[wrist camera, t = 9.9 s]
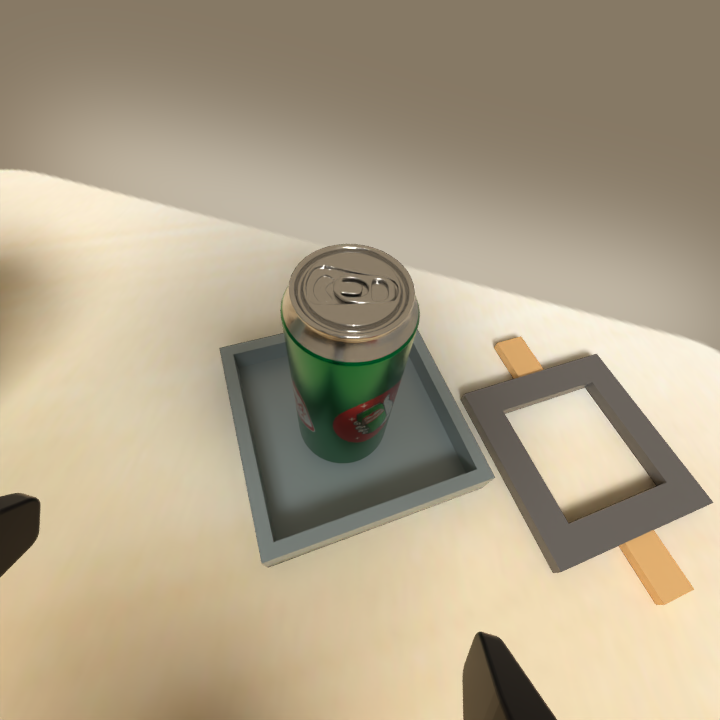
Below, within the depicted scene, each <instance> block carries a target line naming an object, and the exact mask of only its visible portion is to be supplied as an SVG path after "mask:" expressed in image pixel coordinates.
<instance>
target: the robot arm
mask: <svg viewBox="0 0 720 720" xmlns="http://www.w3.org/2000/svg"><path fill="white" fill-rule="evenodd" d="M39 525H40V501H39V499H37V498H36V497H32V496H29V495H26V494H22V493H14V494H10V495H5V496H1V497H0V577H1V576H2V575H3V574H4V573H5V572H6V571H7V570H8V569H9V568H10V567H11V566H12V565H13V564H14V563H15V562H16V561H17V560H18V559H19V558H20V557H21V556H22V555H23V554H24V553H25V552H26V551H27V550H28V549H29V548H30V547H31V546H32V545H33V543H34V542H35V541H36V539H37V537H38V534H39ZM463 720H557V719H556V717H555V716H554V715H553V713H552V712H551V710H550V709H549V707H548V706H547V704H546V703H545V701H544V700H543V699H542V697H541V696H540V694H539V693H538V691H537V690H536V688H535V687H534V686H533V684H532V683H531V681H530V680H529V678H528V677H527V675H526V674H525V673H524V671H523V670H522V668H521V667H520V665H519V664H518V662H517V661H516V660H515V658H514V657H513V655H512V654H511V652H510V651H509V649H508V648H507V646H506V645H505V644H504V642H503V641H502V640H501V639H500V638H499V637H497V636H494V635H490V634H487V633H484V632H478V633H477V634H476V635H475V637H474V640H473V642H472V645H471V648H470V651H469V653H468V656H467V659H466V662H465V665H464V669H463Z"/></svg>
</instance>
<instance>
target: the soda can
mask: <svg viewBox="0 0 720 720" xmlns="http://www.w3.org/2000/svg"><path fill="white" fill-rule="evenodd" d="M280 311H281V320H282V326H283V332H284V338H285V344H286V350H287V356H288V362H289V368H290V374H291V380H292V386H293V392H294V398H295V404H296V410H297V416H298V422H299V428H300V432H301V436H302V438H303V440H304V442H305V444H306V445H307V447H308V448H309V449H310V450H311V451H312V452H313V453H314V454H316V455H317V456H318V457H320V458H322V459H324V460H326V461H330V462H333V463H352V462H356V461H359V460H361V459H363V458H365V457H367V456H368V455H370V454H371V453H372V452H373V451H374V450H375V449H376V448H377V447H378V445H379V444H380V442H381V440H382V438H383V436H384V433H385V430H386V426H387V423H388V420H389V417H390V414H391V411H392V407H393V404H394V401H395V398H396V395H397V392H398V388H399V385H400V382H401V379H402V376H403V373H404V369H405V366H406V363H407V360H408V357H409V354H410V350H411V347H412V344H413V341H414V338H415V335H416V331H417V328H418V324H419V317H420V311H419V305H418V302H417V299H416V296H415V291H414V285H413V282H412V279H411V277H410V275H409V273H408V271H407V270H406V269H405V268H404V266H403V265H402V264H401V263H399V262H398V261H397V260H396V259H395V258H393V257H392V256H390V255H389V254H387V253H385V252H383V251H381V250H378V249H375V248H373V247H369V246H365V245H357V244H341V245H333V246H328V247H325V248H322V249H319V250H317V251H315V252H313V253H311V254H310V255H308V256H307V257H305V258H304V259H303V260H302V261H301V262H300V263H299V264H298V265H297V267H296V268H295V270H294V271H293V273H292V275H291V279H290V282H289V285H288V287H287V289H286V291H285V292H284V295H283V298H282V301H281V310H280Z"/></svg>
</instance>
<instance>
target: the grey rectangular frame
mask: <svg viewBox="0 0 720 720" xmlns="http://www.w3.org/2000/svg"><path fill="white" fill-rule="evenodd" d="M494 348H495V350H496V351H497V353H498V355H499V356H500V358H501V359H502V361H503V363H504V364H505V366H506V367H507V369H508V371H509V372H510V374H511V375H512V377H513V378H514V379H512V380H509V381H505V382H502V383H499V384H496V385H492V386H489V387H486V388H482V389H479V390H476V391H472V392H469V393H466V394H464V395H463V397H462V398H461V401H462V403H463V405H464V407H465V409H466V411H467V412H468V414H469V416H470V418H471V420H472V422H473V424H474V426H475V427H476V429H477V431H478V433H479V435H480V437H481V439H482V441H483V442H484V444H485V446H486V448H487V450H488V452H489V454H490V456H491V457H492V459H493V461H494V463H495V465H496V467H497V469H498V471H499V472H500V474H501V476H502V478H503V480H504V482H505V484H506V486H507V487H508V489H509V491H510V493H511V495H512V497H513V499H514V501H515V502H516V504H517V506H518V508H519V510H520V512H521V514H522V516H523V517H524V519H525V521H526V523H527V525H528V527H529V529H530V531H531V532H532V534H533V536H534V538H535V540H536V542H537V544H538V546H539V547H540V549H541V551H542V553H543V555H544V557H545V559H546V561H547V562H548V564H549V566H550V568H551V570H552V572H553V573H558V572H562V571H564V570H567V569H569V568H571V567H573V566H575V565H578V564H580V563H582V562H584V561H586V560H588V559H591V558H593V557H595V556H597V555H599V554H602V553H604V552H606V551H608V550H610V549H613V548H615V547H617V546H619V547H620V548H621V550H622V551H623V553H624V555H625V556H626V558H627V559H628V561H629V563H630V564H631V566H632V567H633V569H634V571H635V572H636V574H637V575H638V577H639V578H640V580H641V582H642V583H643V585H644V586H645V588H646V590H647V591H648V593H649V594H650V596H651V598H652V599H653V601H654V602H655V604H656V605H665V604H667V603H669V602H671V601H673V600H675V599H677V598H678V597H680V596H682V595H684V594H686V593H688V592H690V591H692V590H694V588H693V587H692V585H691V584H690V582H689V581H688V579H687V578H686V577H685V575H684V574H683V572H682V571H681V569H680V568H679V566H678V565H677V563H676V562H675V561H674V559H673V558H672V556H671V555H670V553H669V552H668V550H667V549H666V547H665V546H664V544H663V543H662V542H661V540H660V539H659V537H658V536H657V534H656V533H655V531H654V529H657V528H659V527H661V526H663V525H665V524H668V523H670V522H672V521H674V520H676V519H678V518H681V517H683V516H685V515H687V514H689V513H692V512H694V511H696V510H698V509H700V508H703V507H705V506H707V505H709V504H711V503H713V502H712V500H711V499H710V498H709V496H708V495H707V494H706V493H705V491H704V490H703V489H702V488H701V486H700V485H699V484H698V482H697V481H696V480H695V479H694V477H693V476H692V475H691V473H690V472H689V471H688V470H687V468H686V467H685V466H684V465H683V463H682V462H681V461H680V459H679V458H678V457H677V456H676V454H675V453H674V452H673V451H672V449H671V448H670V447H669V445H668V444H667V443H666V442H665V440H664V439H663V438H662V437H661V435H660V434H659V433H658V431H657V430H656V429H655V428H654V426H653V425H652V424H651V422H650V421H649V420H648V419H647V417H646V416H645V415H644V414H643V412H642V411H641V410H640V408H639V407H638V406H637V405H636V403H635V402H634V401H633V400H632V398H631V397H630V396H629V394H628V393H627V392H626V391H625V389H624V388H623V387H622V386H621V384H620V383H619V382H618V380H617V379H616V378H615V377H614V375H613V374H612V373H611V371H610V370H609V369H608V368H607V366H606V365H605V364H604V363H603V361H602V360H601V359H600V357H599V356H598V355H597V354H594V355H591V356H588V357H584V358H581V359H578V360H575V361H571V362H568V363H565V364H561V365H558V366H555V367H551V368H548V369H545V370H544V369H543V368H542V366H541V365H540V363H539V362H538V360H537V359H536V357H535V356H534V355H533V353H532V352H531V350H530V349H529V347H528V346H527V344H526V343H525V341H524V340H523V339H522V337H517V338H513V339H510V340H506V341H503V342H499V343H497V344H496V346H495V347H494ZM582 388H586V389H587V390H588V392H589V393H590V395H591V396H592V397H593V399H594V400H595V401H596V403H597V404H598V406H599V407H600V408H601V410H602V411H603V412H604V414H605V415H606V417H607V418H608V419H609V421H610V422H611V423H612V425H613V426H614V427H615V429H616V430H617V432H618V433H619V434H620V436H621V437H622V438H623V440H624V441H625V443H626V444H627V445H628V447H629V448H630V449H631V451H632V452H633V454H634V455H635V456H636V458H637V459H638V460H639V462H640V463H641V465H642V466H643V467H644V469H645V470H646V471H647V473H648V474H649V476H650V477H651V478H652V480H653V481H654V482H655V484H656V485H657V486H656V487H653V488H651V489H649V490H646V491H644V492H641V493H639V494H637V495H634V496H632V497H630V498H627V499H625V500H623V501H620V502H618V503H615V504H613V505H611V506H608V507H606V508H604V509H601V510H599V511H596V512H594V513H592V514H589V515H587V516H585V517H582V518H580V519H578V520H575V521H573V522H570V523H568V521H567V520H566V518H565V516H564V515H563V513H562V511H561V510H560V508H559V506H558V504H557V503H556V501H555V499H554V498H553V496H552V494H551V492H550V491H549V489H548V487H547V486H546V484H545V482H544V480H543V479H542V477H541V475H540V474H539V472H538V470H537V469H536V467H535V465H534V463H533V462H532V460H531V458H530V457H529V455H528V453H527V451H526V450H525V448H524V446H523V445H522V443H521V441H520V439H519V438H518V436H517V434H516V433H515V431H514V429H513V428H512V426H511V424H510V422H509V421H508V419H507V417H506V416H505V414H506V413H509V412H512V411H515V410H518V409H521V408H524V407H527V406H530V405H533V404H536V403H539V402H542V401H546V400H549V399H552V398H555V397H558V396H561V395H564V394H567V393H570V392H573V391H576V390H579V389H582Z"/></svg>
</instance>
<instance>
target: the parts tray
mask: <svg viewBox="0 0 720 720" xmlns="http://www.w3.org/2000/svg"><path fill="white" fill-rule="evenodd" d="M220 353H221V358H222V363H223V368H224V373H225V379H226V384H227V389H228V394H229V399H230V404H231V409H232V414H233V419H234V424H235V430H236V435H237V440H238V445H239V450H240V455H241V460H242V465H243V470H244V475H245V480H246V486H247V491H248V496H249V501H250V506H251V511H252V516H253V521H254V526H255V531H256V537H257V542H258V547H259V552H260V557H261V562H262V564H263V565H265V566H267V567H271V566H274V565H276V564H279V563H282V562H284V561H287V560H290V559H292V558H295V557H298V556H300V555H303V554H306V553H308V552H311V551H314V550H316V549H319V548H322V547H325V546H327V545H330V544H333V543H335V542H338V541H341V540H343V539H346V538H349V537H351V536H354V535H357V534H359V533H362V532H365V531H368V530H370V529H373V528H376V527H378V526H381V525H384V524H386V523H389V522H392V521H394V520H397V519H400V518H402V517H405V516H408V515H410V514H413V513H416V512H419V511H421V510H424V509H427V508H429V507H432V506H435V505H437V504H440V503H443V502H445V501H448V500H451V499H453V498H456V497H459V496H461V495H464V494H467V493H470V492H472V491H475V490H478V489H480V488H482V487H483V486H485V485H486V484H487V483H489V482H490V481H491V480H493V479H494V478H495V476H494V474H493V473H492V471H491V469H490V467H489V465H488V463H487V461H486V459H485V457H484V455H483V453H482V452H481V450H480V448H479V446H478V444H477V442H476V440H475V438H474V436H473V434H472V432H471V431H470V429H469V427H468V425H467V423H466V421H465V419H464V417H463V415H462V413H461V411H460V410H459V408H458V406H457V404H456V402H455V400H454V398H453V396H452V394H451V392H450V390H449V389H448V387H447V385H446V383H445V381H444V379H443V377H442V375H441V373H440V371H439V370H438V368H437V366H436V364H435V362H434V360H433V358H432V356H431V354H430V352H429V350H428V349H427V347H426V345H425V343H424V341H423V339H422V337H421V335H420V333H419V331H418V329H417V331H416V335H415V338H414V341H413V344H412V347H411V350H410V354H409V357H408V360H407V363H406V366H405V369H404V373H403V376H402V379H401V382H400V385H399V388H398V392H397V395H396V398H395V401H394V404H393V407H392V411H391V414H390V417H389V420H388V423H387V426H386V430H385V433H384V436H383V438H382V440H381V442H380V444H379V445H378V447H377V448H376V449H375V450H374V451H373V452H372V453H371V454H370V455H368V456H367V457H365V458H363V459H361V460H359V461H356V462H352V463H333V462H330V461H326V460H324V459H322V458H320V457H318V456H317V455H316V454H314V453H313V452H312V451H311V450H310V449H309V448H308V447H307V445H306V444H305V442H304V440H303V438H302V436H301V432H300V428H299V422H298V416H297V410H296V404H295V398H294V392H293V386H292V380H291V374H290V368H289V362H288V356H287V350H286V344H285V338H284V333H282V334H278V335H273V336H269V337H265V338H261V339H256V340H252V341H248V342H243V343H239V344H235V345H231V346H226V347H222V348H220Z"/></svg>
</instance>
